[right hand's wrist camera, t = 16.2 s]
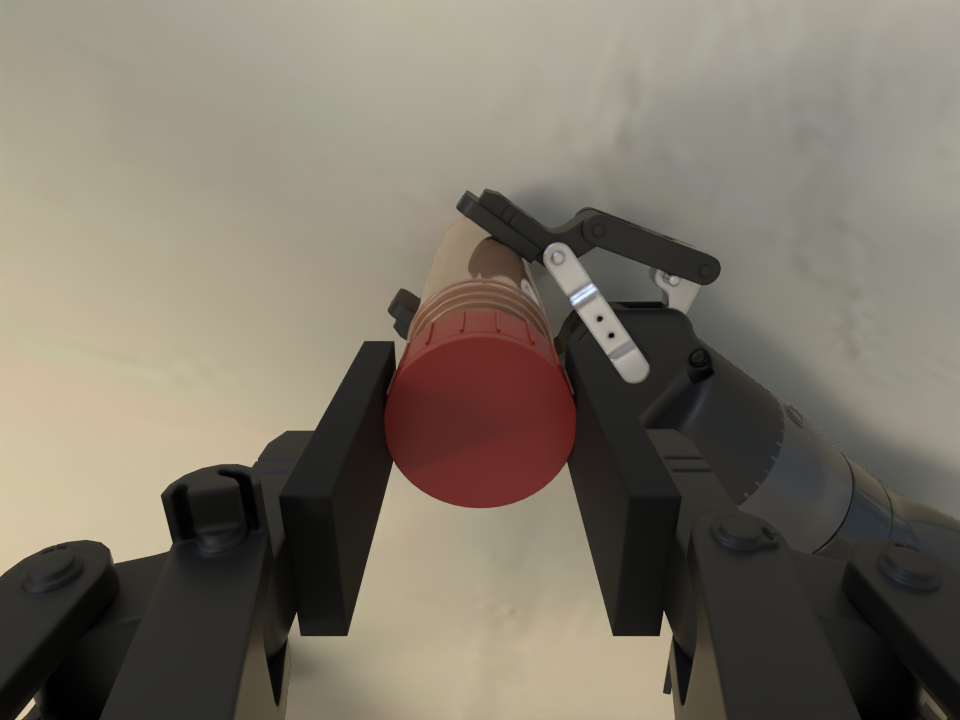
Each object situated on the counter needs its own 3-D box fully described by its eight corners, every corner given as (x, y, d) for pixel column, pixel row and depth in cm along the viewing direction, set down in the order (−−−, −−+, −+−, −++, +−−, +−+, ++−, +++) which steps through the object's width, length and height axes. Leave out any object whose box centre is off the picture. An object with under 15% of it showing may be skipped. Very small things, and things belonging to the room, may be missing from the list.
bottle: (465, 197, 29) (445, 288, 12) (538, 243, 30) (615, 389, 13) (422, 271, 30) (350, 444, 13) (493, 313, 31) (508, 525, 14)
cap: (406, 471, 15) (396, 517, 14) (379, 316, 14) (364, 344, 12) (569, 458, 15) (581, 503, 13) (562, 299, 14) (575, 325, 12)
